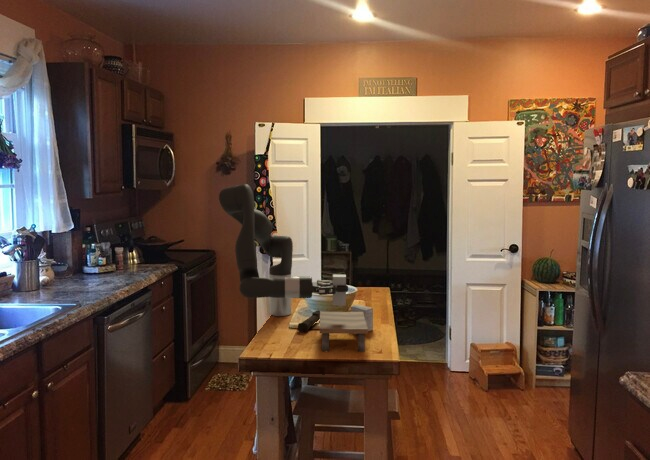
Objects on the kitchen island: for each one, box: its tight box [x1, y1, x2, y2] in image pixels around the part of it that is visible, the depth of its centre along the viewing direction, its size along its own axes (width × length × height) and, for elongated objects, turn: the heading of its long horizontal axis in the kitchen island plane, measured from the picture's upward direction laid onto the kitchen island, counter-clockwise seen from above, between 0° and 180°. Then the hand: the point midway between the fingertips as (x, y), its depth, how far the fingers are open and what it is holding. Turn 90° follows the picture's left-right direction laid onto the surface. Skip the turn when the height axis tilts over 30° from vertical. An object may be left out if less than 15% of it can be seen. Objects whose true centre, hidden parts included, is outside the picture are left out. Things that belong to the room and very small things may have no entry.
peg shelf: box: [319, 311, 369, 353], centre depth 184 cm, size 22×16×8 cm
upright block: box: [332, 273, 347, 307], centre depth 183 cm, size 4×4×10 cm
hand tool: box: [297, 310, 321, 334], centre depth 205 cm, size 19×4×5 cm, turn 158°
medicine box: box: [350, 304, 374, 332], centre depth 200 cm, size 8×4×9 cm, turn 43°
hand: (346, 286), depth 183 cm, fingers closed on upright block, 4 cm apart
